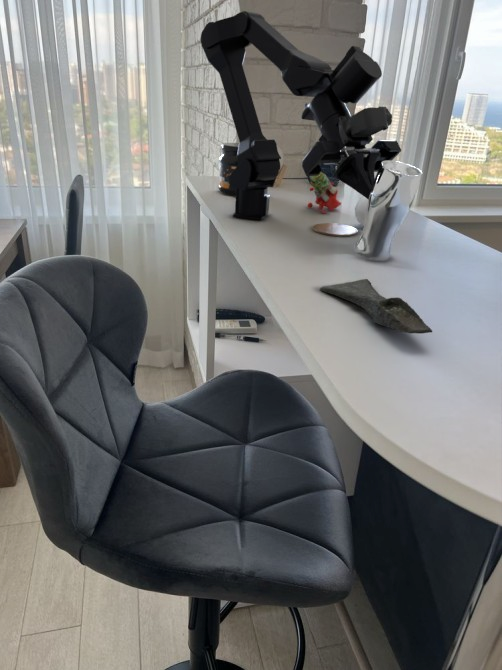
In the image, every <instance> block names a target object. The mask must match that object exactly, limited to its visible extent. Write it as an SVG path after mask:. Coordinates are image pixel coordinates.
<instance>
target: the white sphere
mask: <svg viewBox="0 0 502 670" xmlns="http://www.w3.org/2000/svg"><path fill="white" fill-rule="evenodd" d="M367 204H368V199H367V198H365V197H364V196H363V195H361V197H359V198H358V200H357V202H356V203H355V207H354V216H355V218H356V221H357V222H358V223H359V225H361V226H362V227H364V224H365V218H366V211H367Z"/></svg>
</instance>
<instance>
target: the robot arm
mask: <svg viewBox="0 0 502 670" xmlns="http://www.w3.org/2000/svg"><path fill="white" fill-rule="evenodd" d="M200 44H201V48H202V50H203V52H204V55H205V58H206V59H207V61H208V63H209V64H210V65H211V66H212V67H213V68H214V70H215V71H216V72H217V73H218V74H219V77H220V80H221V83H222V87H223V91H224V94H225V97H226V101H227V104H228V107H229V111H230V114H231V117H232V121H233V125H234V128H235V130H236V131H235V132H236V134H237V137H238V143H239V148H238V152H237V162H238V166H237V167H236V168H235V170H234V171H233V172H232V173H231V175H230V176H229V182H230V187H233V188H236V196H235V202H234V203H235V204H234V205H235V206H234V213H233V214H232V218H239V219H249V220H255V221H256V220H257V221H262V220H264V219H265V218H266V217H267V216H268V215H269V213H270V198H271V197H270V194H268V188H273V187H274V185H275V183H276V180H277V178H278V175H279V172H280V170H281V161H280V160H281V159H282V156H281V155H280V153H279V150H278V145H277V144H278V143H277V142H276V140H275V139H267V137H266V136H264V133H263V131H262V128H261V124H260V121H259V118H258V115H257V114H258V113H257V111H256V108H255V104H254V100H253V97H252V94H251V91H250V87H249V84H248V80H247V76H246V73H245V69H244V62H245V56H246V49H247V48H248V47H249V46H251V45H253V46H254V48H256V49H257V50H258V51H259V52H260V53H261V54H262V55H263V56H264V57H265V58H266V59H268V61H270V62H271V63H272V64H273V65H274V66H275V67H276V68H277V69H278V70H279V72H280V74H281V79H282V82H283V83H284V84H285V85H286V87H287V88H288V90H289V91H290V93H291V94H292V95H294V96H296V97H307V98H309V97H310V98H312V99H311V101H310V102H308V103H307V102H306V103H304V108H303V111H302V112H301V119H302V120H304V121H312V122H313V121H314V122H315V123H316V124H315V125H316V126H317V127H318V130H319V133H320V134H321V136H320V137H319V138H318V140H317V141H316V142H315V143H314V144H313V146H312V147H311V148H310V150H309V151H308V152H307V153H306V155H305V156H304V157H303V158H302V161H301V168H302V170H303V172H304V174H305V176H306V177H310V176H318V175H319V174H320V172H322V167H321V164H323V165H324V166H326V165H328V166H329V165H334V166H335V167H334V168H335V171H334V172H333V173H332V174H331V177H332V178H333V179H337V180H339V181H340V182H342V183H344V184H345V185H347V186H348V187H350V188H351V189H352V190H354V191H355V192H356V193H358V194H360V195H361V196H364V197H365V198H367V199H369V194H370V191H371V187H372V185H373V182H374V179H375V177H376V176H375V173H377V172H378V170H379V167H380V165H381V162H382V161H386V160H391V161H394V159H395V158H396V157H397V156H399V154H400V153H401V152H402V148H401V146H400V143H398V141H397V140H394V139H378V140H377V141H376V142H375V143H374V144H373V145H372V146H371V147H369V148H367V147H366V146H367V145H369V144H370V143H371V142H372V141H373V140H374V138H373V136H374V135H375V134H377V133H378V134H379V132H382V131H386V130H388V129H389V127H390V126H391V125H392V122H393V114H392V113H391V112H390V110H389V109H388V107H386V106H378V107H366V108H363V109H361V110H359V111H358V112H356V113H354V114H352V115H351V113H350V111H349V109H348V107H347V104H358V103H359V102H360V101H361V100H362V98H363V97H364V96H365V95H366V94H367V93H368V92H369V91H370V89H371V88H372V87H373V86H374V85H375V84H376V83H377V82H378V81H379V80H380V78H381V77H382V75H383V71H382V68H381V67H380V64H379V63H378V62H377V61H375V60H374V59H373V58H372V57H371V56H370V55H369V54H367V53H366V52H364V51H363V50H362V48H361V47H360V46H356V45H352V46H350V47H349V49H348V50H347V51H346V54H345V55H344V57H343V58H342V59H341V60H340V62H339V63H338V64H337V65H336V67H335V68H334V69H332V67H331V66H330V65H329V63H327V62H325V61H323V60H322V59H320V58H318V57H315V56H314V55H311V54H308V53H305V52H303V51H301V50H299V48H298V47H296V46H295V45H294V44H293V43H292V42H291V41H289V40H288V39H287V38H286V37H285V36H283V35H282V33H280V32H279V31H278V30H277V29H276V28H275V27H273V26H272V25H271V23H269V22H268V21H267V20H266V18H265V17H264V16H263V15H262V14H260V13H258V12H252V11H249V10H248V11H247V10H242V11H241V12H238V13H237V14H235V15H232V16H228V17H226V18H222V19H218V20H215V21H208V23H206V24H205V26H204V28H203V29H202V30H201V33H200Z"/></svg>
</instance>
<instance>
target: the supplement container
mask: <svg viewBox="0 0 502 670" xmlns="http://www.w3.org/2000/svg"><path fill="white" fill-rule="evenodd" d="M239 143H240V142H224V143H222V144H221V155H220V156H219V158H218V161H219V169H218V170H219V174H218V177H219V179H218V190H219V192H220V193H221V194H223V195H227V196H231V197H233V196H234V197H236V188H233V187H230V182H229V176H230V175H231V173H232V172H233V171H234V170H235V168H236V167H237V166H238V162H237V152H238V148H239Z"/></svg>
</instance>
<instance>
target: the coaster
mask: <svg viewBox="0 0 502 670" xmlns="http://www.w3.org/2000/svg"><path fill="white" fill-rule="evenodd" d="M312 230H313V232H315V233H317V234H320V235H325V236H329V237H340V238H341V237H353V236H356V235H357V234H358V229H357V228H355V227H353V226H351V225H347V224H342V223H330V222H324V223H323V222H322V223H317V224H314V225H313V227H312Z"/></svg>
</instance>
